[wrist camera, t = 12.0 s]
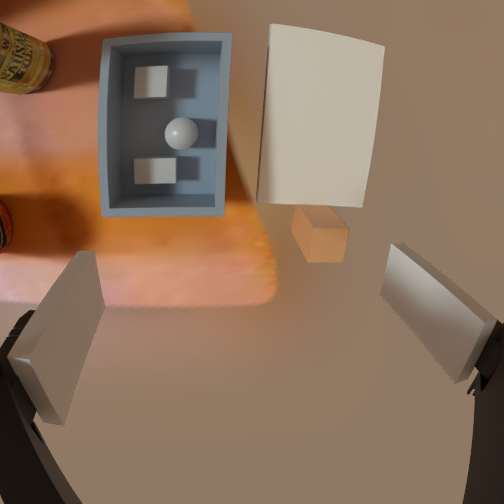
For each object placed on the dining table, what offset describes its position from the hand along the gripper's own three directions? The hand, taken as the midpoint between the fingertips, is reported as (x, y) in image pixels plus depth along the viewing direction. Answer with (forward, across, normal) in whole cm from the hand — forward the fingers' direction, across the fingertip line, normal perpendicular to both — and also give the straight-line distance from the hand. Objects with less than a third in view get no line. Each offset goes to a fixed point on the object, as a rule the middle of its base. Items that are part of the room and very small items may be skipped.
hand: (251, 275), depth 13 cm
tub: (+21, -5, +6) cm, 23 cm away
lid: (+21, +10, +5) cm, 24 cm away
